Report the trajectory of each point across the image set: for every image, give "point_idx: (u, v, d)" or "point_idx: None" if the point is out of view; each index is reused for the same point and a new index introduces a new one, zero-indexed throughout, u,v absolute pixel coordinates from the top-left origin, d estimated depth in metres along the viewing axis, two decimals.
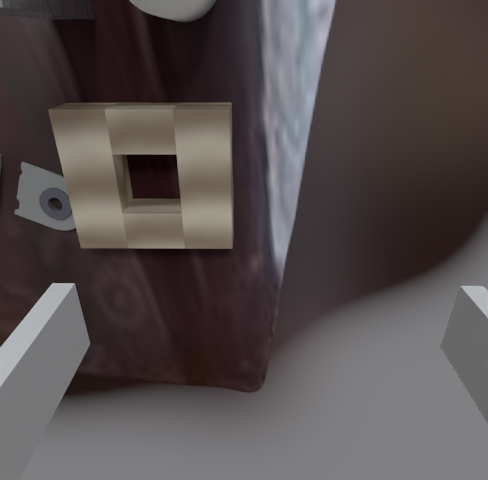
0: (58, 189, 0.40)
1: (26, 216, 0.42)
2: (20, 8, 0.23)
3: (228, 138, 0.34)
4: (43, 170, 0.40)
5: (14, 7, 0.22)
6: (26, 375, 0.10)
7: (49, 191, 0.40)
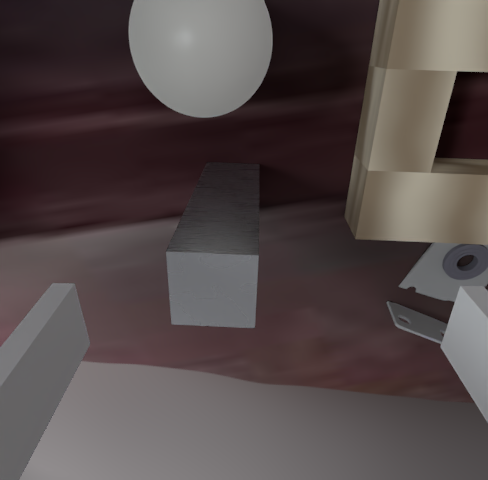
0: (448, 253, 0.31)
1: None
2: (257, 236, 0.18)
3: None
4: (418, 264, 0.32)
5: (257, 242, 0.17)
6: (27, 375, 0.10)
7: (447, 264, 0.31)
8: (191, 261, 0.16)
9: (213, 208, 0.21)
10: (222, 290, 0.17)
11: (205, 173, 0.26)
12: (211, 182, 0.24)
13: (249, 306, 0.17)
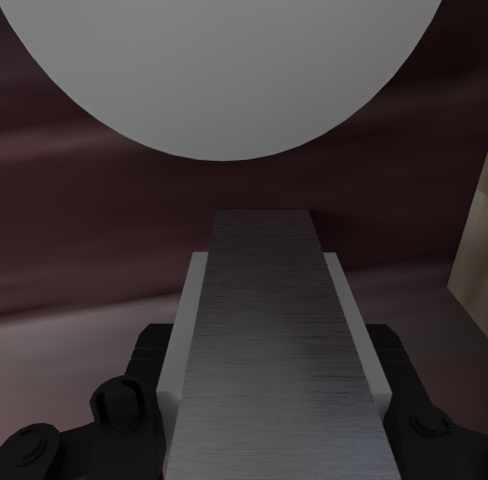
0: None
1: None
2: None
3: None
4: None
5: None
6: None
7: None
8: None
9: (251, 367, 0.09)
10: None
11: (217, 239, 0.14)
12: (233, 265, 0.12)
13: None
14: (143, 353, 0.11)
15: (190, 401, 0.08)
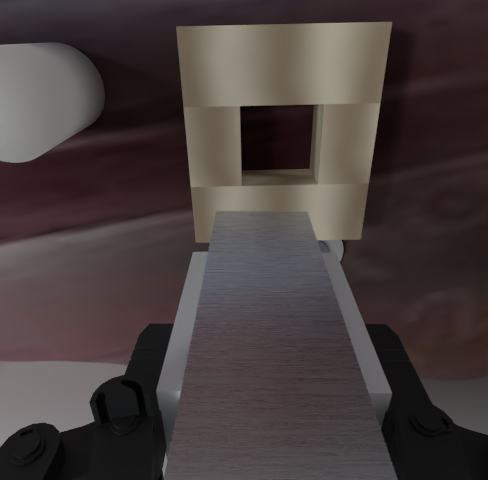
0: None
1: None
2: None
3: (215, 28, 0.24)
4: None
5: None
6: None
7: None
8: None
9: (250, 371, 0.09)
10: None
11: (217, 241, 0.14)
12: (232, 268, 0.12)
13: None
14: (143, 353, 0.11)
15: (188, 404, 0.08)
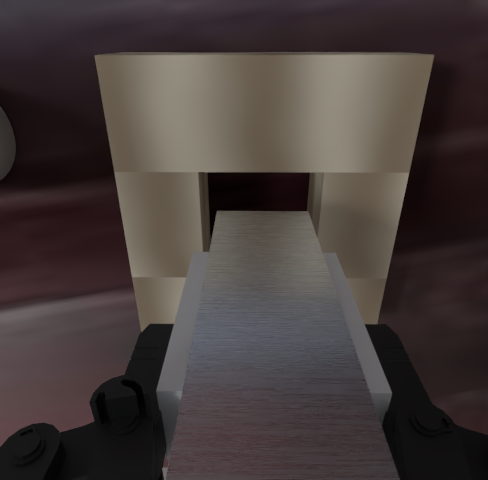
0: None
1: None
2: None
3: (155, 59, 0.16)
4: None
5: None
6: None
7: None
8: None
9: (251, 370, 0.09)
10: None
11: (217, 241, 0.14)
12: (233, 267, 0.12)
13: None
14: (143, 353, 0.11)
15: (190, 404, 0.08)
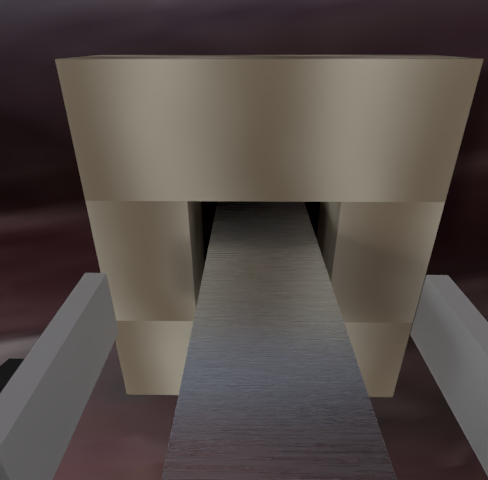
0: None
1: None
2: (366, 397, 0.08)
3: (132, 64, 0.12)
4: None
5: (374, 424, 0.07)
6: (69, 357, 0.10)
7: None
8: None
9: (249, 301, 0.11)
10: None
11: (220, 213, 0.16)
12: (234, 232, 0.15)
13: None
14: None
15: (201, 322, 0.10)
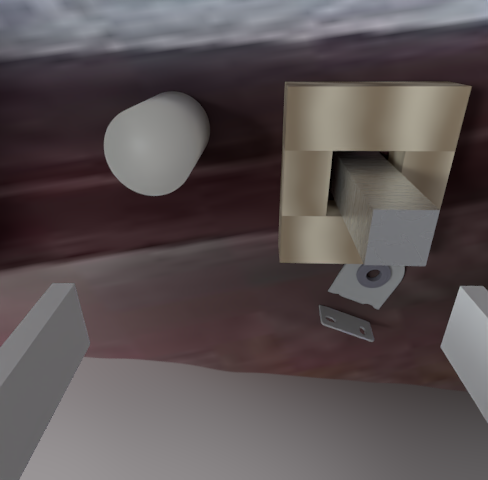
0: (358, 268, 0.41)
1: (381, 301, 0.43)
2: (427, 199, 0.24)
3: (320, 88, 0.29)
4: (338, 276, 0.42)
5: (431, 202, 0.24)
6: (26, 375, 0.10)
7: (359, 277, 0.41)
8: (389, 216, 0.23)
9: (376, 182, 0.27)
10: (408, 237, 0.24)
11: (343, 159, 0.33)
12: (355, 165, 0.31)
13: (425, 249, 0.24)
14: None
15: (361, 186, 0.27)
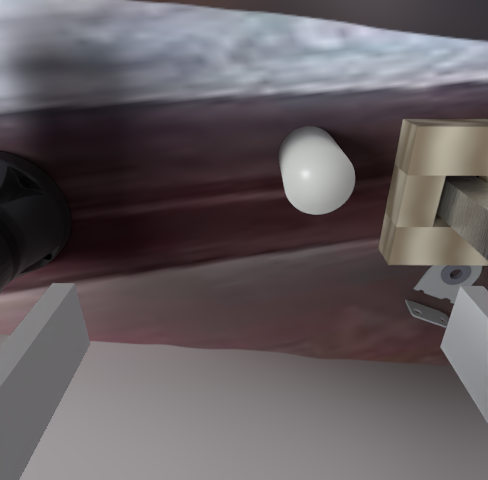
0: (444, 269, 0.49)
1: None
2: None
3: (443, 128, 0.37)
4: (425, 275, 0.50)
5: None
6: (26, 375, 0.10)
7: (444, 275, 0.49)
8: None
9: None
10: None
11: (449, 181, 0.41)
12: (464, 187, 0.39)
13: None
14: None
15: (485, 207, 0.35)
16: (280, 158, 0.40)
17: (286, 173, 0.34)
